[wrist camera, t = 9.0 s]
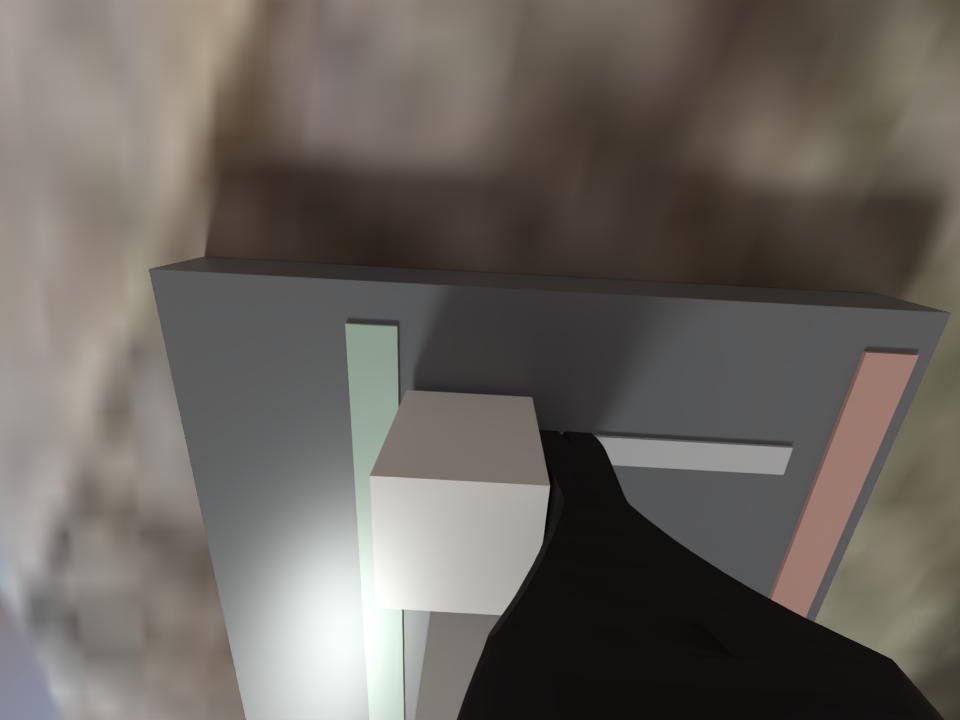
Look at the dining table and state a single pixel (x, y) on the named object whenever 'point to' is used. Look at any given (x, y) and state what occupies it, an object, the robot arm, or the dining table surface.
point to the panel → (559, 407)
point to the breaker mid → (450, 661)
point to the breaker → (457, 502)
